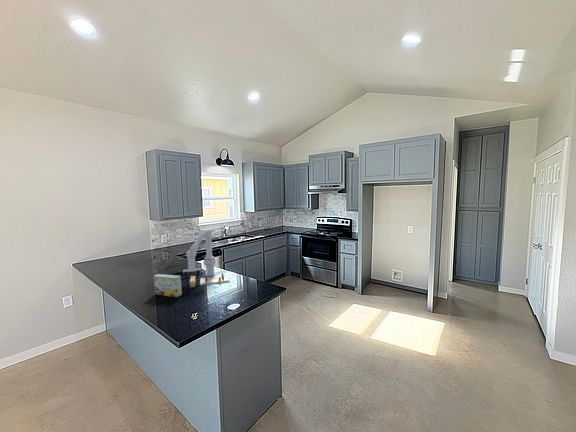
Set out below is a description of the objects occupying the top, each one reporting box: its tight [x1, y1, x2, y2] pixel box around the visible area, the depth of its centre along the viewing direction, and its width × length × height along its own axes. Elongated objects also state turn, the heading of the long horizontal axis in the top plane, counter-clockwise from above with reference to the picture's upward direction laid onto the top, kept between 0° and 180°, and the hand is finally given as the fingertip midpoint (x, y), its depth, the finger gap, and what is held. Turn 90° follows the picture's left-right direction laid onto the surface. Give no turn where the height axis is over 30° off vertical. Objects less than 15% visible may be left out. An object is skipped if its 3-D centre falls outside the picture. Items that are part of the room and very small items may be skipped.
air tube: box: [189, 275, 197, 288], centre depth 224 cm, size 18×4×4 cm, turn 18°
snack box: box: [153, 273, 183, 298], centre depth 199 cm, size 21×6×15 cm, turn 73°
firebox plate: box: [199, 273, 230, 286], centre depth 229 cm, size 16×24×5 cm, turn 108°
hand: (192, 279), depth 224 cm, fingers open, 7 cm apart
